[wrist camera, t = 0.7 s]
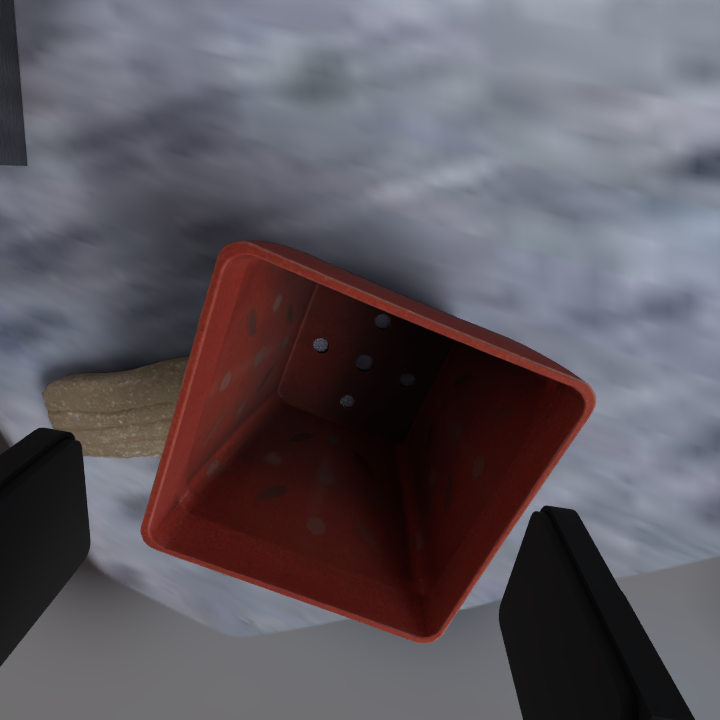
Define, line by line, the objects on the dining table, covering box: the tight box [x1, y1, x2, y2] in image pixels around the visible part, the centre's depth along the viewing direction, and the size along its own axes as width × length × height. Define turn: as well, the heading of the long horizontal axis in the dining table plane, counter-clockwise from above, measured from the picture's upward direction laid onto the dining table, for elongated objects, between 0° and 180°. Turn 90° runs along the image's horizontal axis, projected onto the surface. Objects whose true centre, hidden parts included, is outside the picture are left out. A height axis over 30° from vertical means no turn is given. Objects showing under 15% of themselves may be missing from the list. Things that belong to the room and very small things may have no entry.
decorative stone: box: [42, 356, 189, 458], centre depth 42 cm, size 10×16×4 cm, turn 99°
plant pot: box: [140, 241, 596, 643], centre depth 32 cm, size 19×19×17 cm
